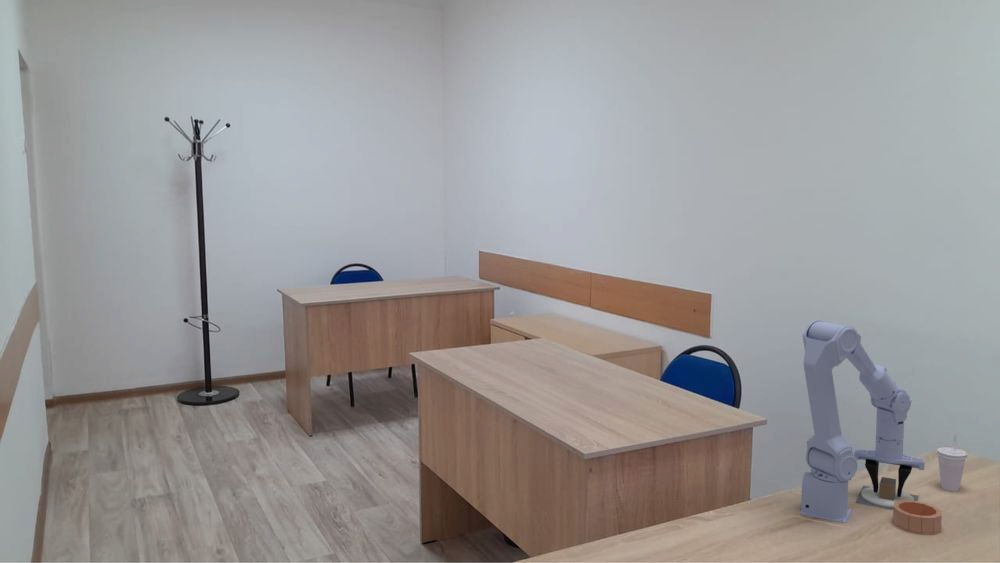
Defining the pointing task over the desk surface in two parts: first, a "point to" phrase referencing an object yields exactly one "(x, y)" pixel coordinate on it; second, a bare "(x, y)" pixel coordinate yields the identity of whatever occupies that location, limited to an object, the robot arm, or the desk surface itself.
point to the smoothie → (951, 466)
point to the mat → (862, 501)
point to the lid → (884, 494)
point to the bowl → (917, 517)
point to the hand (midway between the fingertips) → (887, 493)
